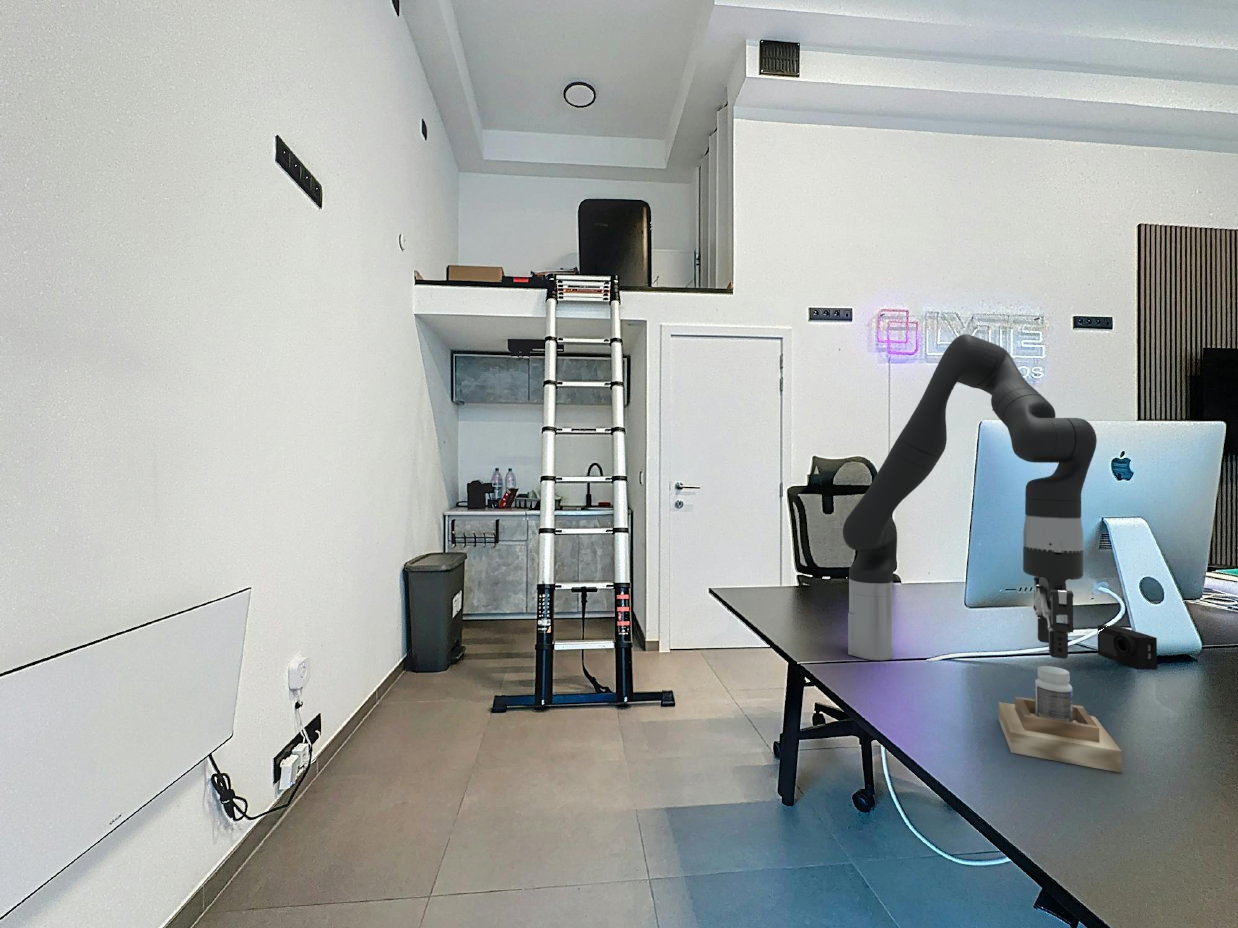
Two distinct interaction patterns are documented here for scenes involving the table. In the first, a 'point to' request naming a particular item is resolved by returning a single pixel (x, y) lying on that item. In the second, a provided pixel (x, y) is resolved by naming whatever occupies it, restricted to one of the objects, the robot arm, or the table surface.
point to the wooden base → (1058, 736)
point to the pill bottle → (1053, 694)
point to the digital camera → (1127, 647)
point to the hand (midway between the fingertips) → (1052, 649)
